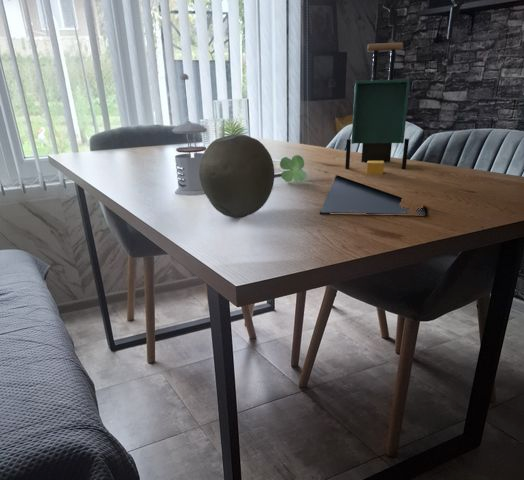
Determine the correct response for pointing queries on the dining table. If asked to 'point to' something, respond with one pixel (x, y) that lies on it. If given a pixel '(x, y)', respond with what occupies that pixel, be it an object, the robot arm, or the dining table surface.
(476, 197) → the dining table surface
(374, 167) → the block
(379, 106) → the green shallow box
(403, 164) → the stand
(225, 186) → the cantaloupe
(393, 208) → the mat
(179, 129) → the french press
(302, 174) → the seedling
